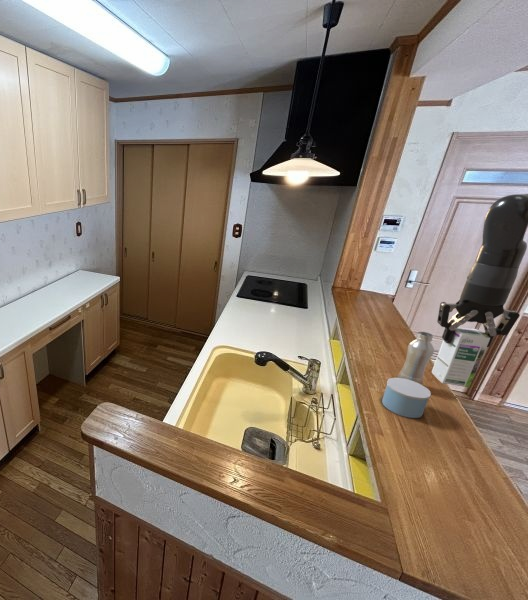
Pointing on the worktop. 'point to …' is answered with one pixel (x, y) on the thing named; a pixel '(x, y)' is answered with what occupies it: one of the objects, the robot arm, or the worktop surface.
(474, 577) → the worktop surface
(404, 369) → the silver metal bottle
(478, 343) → the syrup box
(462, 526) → the worktop surface
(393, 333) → the worktop surface
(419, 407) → the yogurt tub
